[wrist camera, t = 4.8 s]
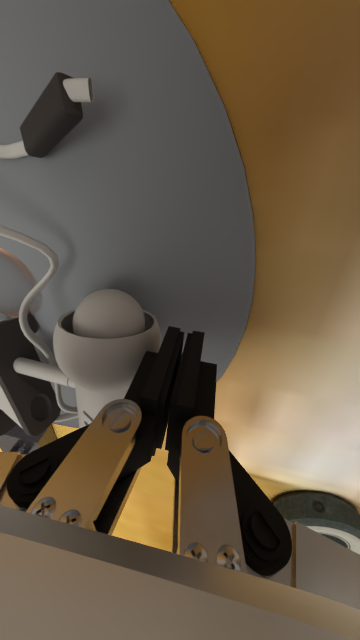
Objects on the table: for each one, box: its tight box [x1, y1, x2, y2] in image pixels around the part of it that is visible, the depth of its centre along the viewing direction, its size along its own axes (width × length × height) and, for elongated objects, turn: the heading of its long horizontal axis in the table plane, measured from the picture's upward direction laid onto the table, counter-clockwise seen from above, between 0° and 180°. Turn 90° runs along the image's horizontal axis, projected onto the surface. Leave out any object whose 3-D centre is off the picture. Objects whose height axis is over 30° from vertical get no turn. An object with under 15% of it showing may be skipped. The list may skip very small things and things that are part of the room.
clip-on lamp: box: [0, 72, 161, 436], centre depth 11 cm, size 12×6×18 cm
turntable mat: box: [0, 0, 256, 428], centre depth 14 cm, size 30×30×1 cm
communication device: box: [273, 491, 360, 555], centre depth 23 cm, size 12×24×9 cm, turn 13°
